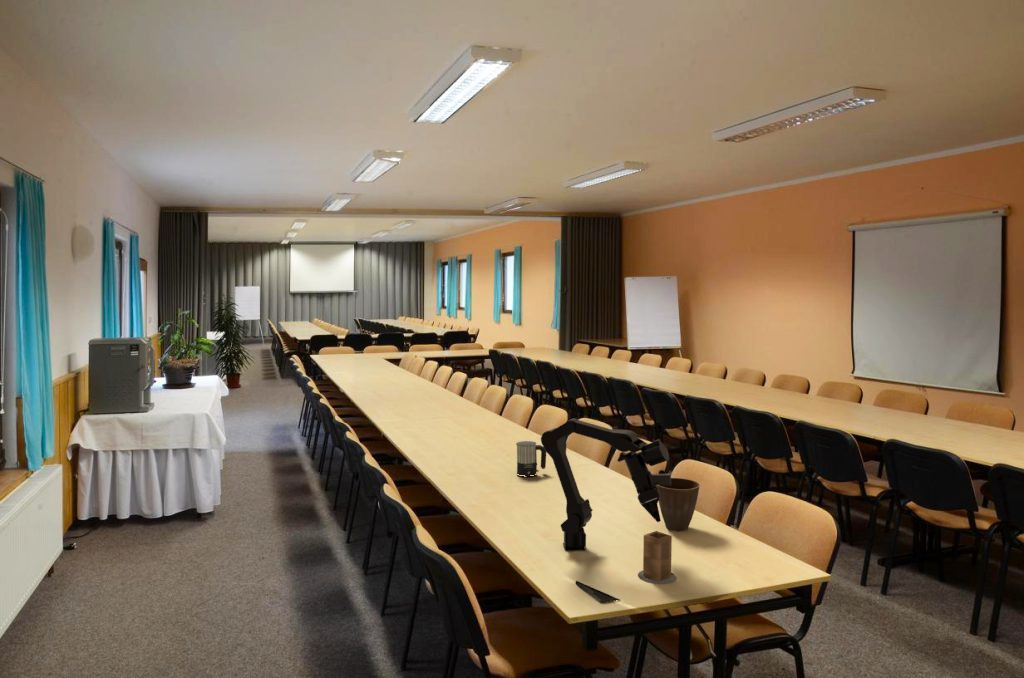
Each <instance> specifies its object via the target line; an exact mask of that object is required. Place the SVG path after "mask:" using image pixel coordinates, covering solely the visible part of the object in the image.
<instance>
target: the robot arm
mask: <svg viewBox="0 0 1024 678" xmlns="http://www.w3.org/2000/svg"><path fill="white" fill-rule="evenodd" d="M573 433H574V434H576V435H581V436H584V437H586V438H590V439H594V440H597V441H600V442H604V443H605V444H608V446H611V448H613V449H615V450H617V451H619V452H620V453H619V456H618V459H617V460H616V461H617V462H622V461H624V462H625V465H626V467H627V470H628V472H629V475H630V478H631V480H632V482H633V485H634V487H635V489H636V493H637V500H638V502H639V505H640V506H642V507H643V508H644V509H645V511H646V512H647V513H648V514H649V516H650V517H652V518H653V519H654V520H655V521H656V522H657V523H660V522H661V521H662V520H661V515H660V509H659V506H658V504H659V499H660V495H659V493H658V489H657V486H656V485H667V486H670V485H671V478H672V475H671V473H666V471H665V470H664V469H660V470H659V471H658V472H657V473H652V472H651V470H649V467H648V465H649V466H650V467H653V466H656V465H658V464H662V463H665V462H668V461H669V460H670V453H669V450H668V448H667V447H666V446H665V444H664V443H663V442H662V441H661V439H656V440H654V441H652V442H650V443H647V442H646V441H644V440H642V439H641V438H639V437H638V435H637V433H636V432H635V431H634V430H630V429H612V428H611V429H610V428H608V427H603V426H601V425H597V424H593V423H590V422H586V421H584V420H580V419H578V418H571V419H569V420H567V421H565V422H564V423H563V424H561V425H559V426H557V427H555V428H551V429H549V430H546V431H544V432H543V433H542V435H541V437H540V442H541V446H543V447H544V449H545V451H546V454H547V455H549V457H550V458H551V459H552V461H553V464H554V467H555V470H556V472H557V473H556V475H557V476H558V479H559V482H560V485H561V488H562V491H563V494H564V496H565V499H566V504H565V505H566V510H565V512H566V517H567V519H566V520H564V521H563V522H562V523H561V524H560V528H561V531H562V532H563V542H562V546H563V549H564V550H565V551H567V552H569V551H570V552H571V551H586V547H587V534H586V532H585V529H584V527H586V525H587V523H589V522H590V521H591V519H592V517H593V513H592V512H593V508H592V507H591V504H590V500H589V498H586V499H584V497H582V496H581V494H580V491H579V487H578V485H577V482H576V479H575V476H574V473H573V470H572V467H571V464H570V462H569V458H568V455H567V440H566V438H567V437H569V436H570V435H572V434H573Z"/></svg>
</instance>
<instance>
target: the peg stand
mask: <svg viewBox="0 0 1024 678" xmlns="http://www.w3.org/2000/svg"><path fill="white" fill-rule="evenodd" d="M637 578H638V579H639V580H641V581H642V582H645V583H648V584H653V585H669V584H672V583H675V582H676V581H677V576H676V575H675V574H674V573H672V572H671V577H670V578H667V579H665V580H662V581H660V582H658V581H655V580H652V579H650V578H647V577H645V576H643V570H640V571H639V572H638V573H637Z"/></svg>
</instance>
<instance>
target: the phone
mask: <svg viewBox="0 0 1024 678" xmlns="http://www.w3.org/2000/svg"><path fill="white" fill-rule="evenodd" d="M575 585H576V586H577V587H578V588H580V589H582V591H584V592H585V593H586V594H587V595H588V596H591V598H593V599H595V601H597V602H598V603H600V604H607V602H608V603H612V602H611V601H614V602H617V601H616V600H619V601H621V599H619V598H618V597H615V596H612V595H611V594H608V593H606V592H603V591H601V590H599V589H597V588H595V587H593V586H590V585H587V584H585V583H583V582H580V581H578V580H575Z"/></svg>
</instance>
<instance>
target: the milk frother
mask: <svg viewBox="0 0 1024 678" xmlns="http://www.w3.org/2000/svg"><path fill="white" fill-rule="evenodd" d="M515 445H516V474H519V475H525V476H530V475H535V474H537V471H538V469H537V467H538V462H537V460H538V459H537V451H540V468H541V469H543V470H545V469H546V464H547V463H546V462H547V452H546V451H545V449H544V447H543V445H542V444H537V442H536V441H533V440H531V441H530V440H529V441H528V440H523V441H518V442H516V443H515Z"/></svg>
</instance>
